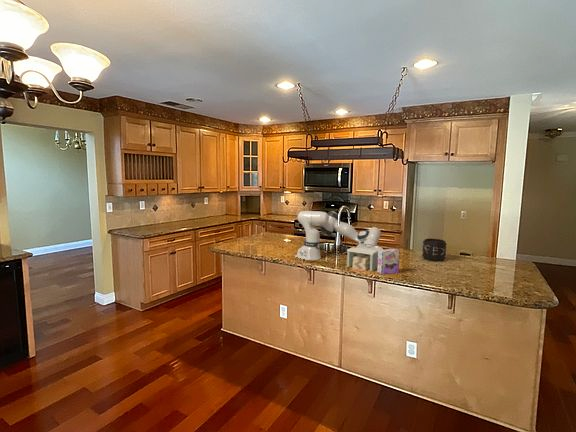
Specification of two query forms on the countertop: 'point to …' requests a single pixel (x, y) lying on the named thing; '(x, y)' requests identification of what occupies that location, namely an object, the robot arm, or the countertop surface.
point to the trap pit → (357, 269)
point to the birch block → (361, 262)
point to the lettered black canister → (434, 250)
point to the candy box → (388, 261)
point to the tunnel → (372, 253)
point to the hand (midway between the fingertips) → (365, 260)
